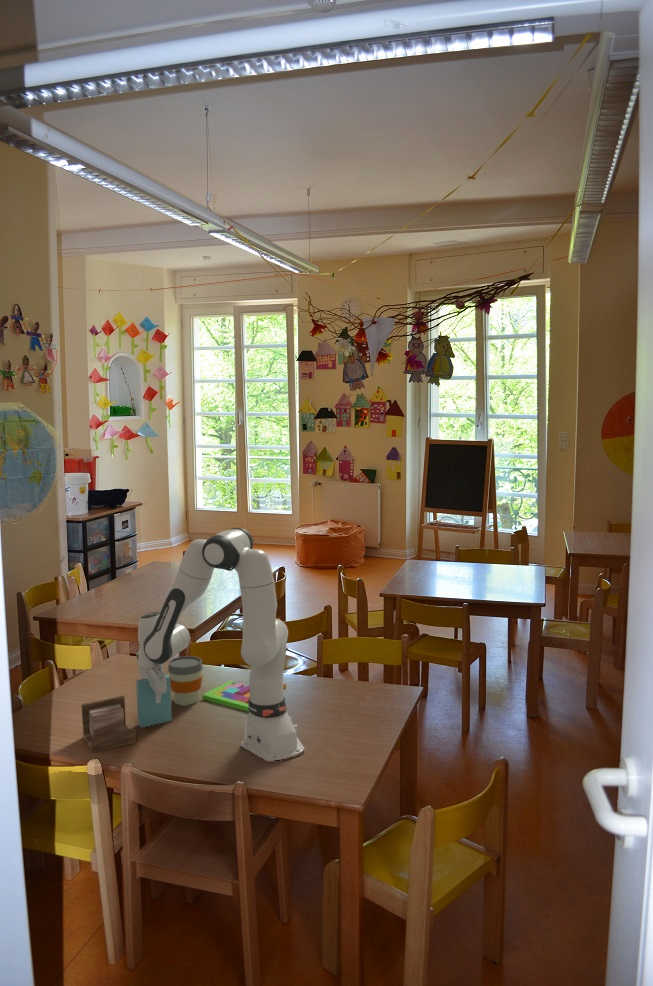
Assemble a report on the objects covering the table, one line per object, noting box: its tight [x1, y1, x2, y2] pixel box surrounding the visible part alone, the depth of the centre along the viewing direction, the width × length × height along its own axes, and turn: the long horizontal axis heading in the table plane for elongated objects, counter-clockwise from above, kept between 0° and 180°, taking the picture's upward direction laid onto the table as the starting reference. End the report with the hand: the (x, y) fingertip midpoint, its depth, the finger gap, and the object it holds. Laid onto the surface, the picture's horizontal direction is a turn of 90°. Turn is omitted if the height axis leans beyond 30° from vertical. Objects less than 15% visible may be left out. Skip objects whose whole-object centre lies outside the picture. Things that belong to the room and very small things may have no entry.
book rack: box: [81, 695, 137, 754], centre depth 255 cm, size 13×14×12 cm
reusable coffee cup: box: [167, 655, 203, 706], centre depth 286 cm, size 13×13×15 cm
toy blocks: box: [202, 680, 287, 713], centre depth 292 cm, size 23×2×25 cm
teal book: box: [135, 674, 173, 728], centre depth 267 cm, size 3×11×16 cm, turn 119°
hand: (153, 697), depth 267 cm, fingers open, 8 cm apart
